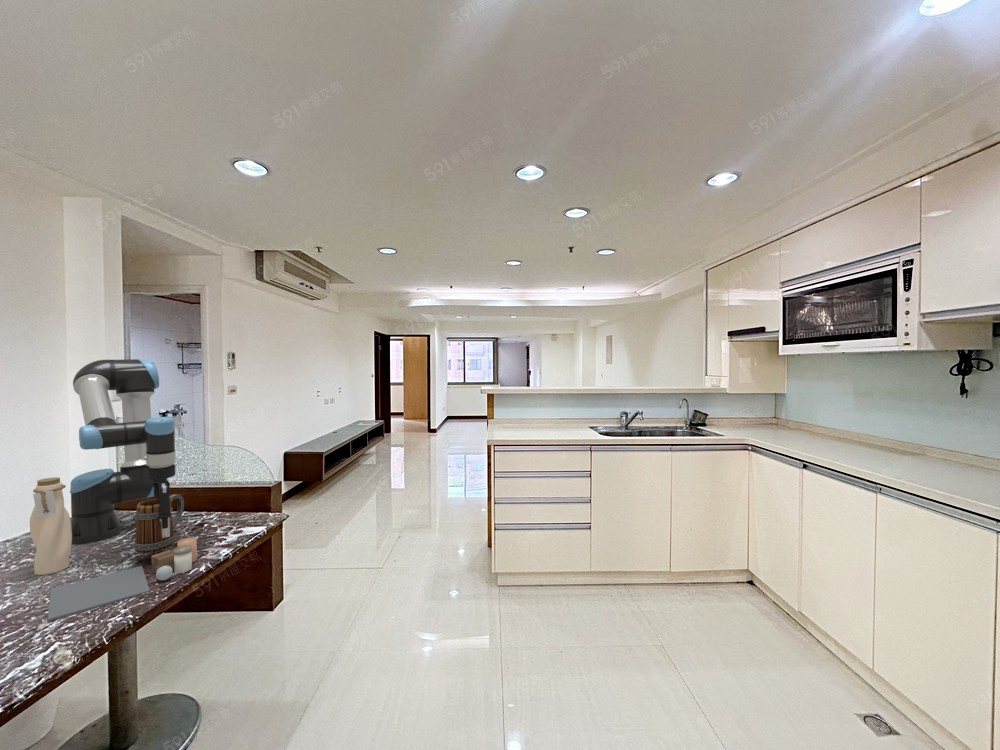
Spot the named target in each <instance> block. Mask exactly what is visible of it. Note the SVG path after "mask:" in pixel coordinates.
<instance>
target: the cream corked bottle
mask: <svg viewBox="0 0 1000 750" xmlns="http://www.w3.org/2000/svg"><path fill="white" fill-rule="evenodd" d="M36 482H37V484H36V485H35V488H34V489H32V492H33V495H32V496H33V500H34V502H33V503H34V507H33V509H32V511H31V514H30V517H29V533H30V536H31V539H32V542H33V544H34V547H35V549H36V550H35V553H34V557H33V560H34V561H33V565H34V567H33V568H34V569H33V571H34V572H33V574H34V575H36V576H46V575H51V574H55V573H58V572H61V571H63V570H65V569H67V568H68V567H70V565H71V564H70V563H71V562H70V554H71V552H72V551H71V550H72V545H73V544H72V528H71V517H70V516H71V515H70V513H69V511H68V510H67V509H66V507H65V500H64V493H63V490H64V489H66V485H65V484H63V483H62V481H61V477H57V476H56V477H55V476H54V477H48V478H41V479H38V480H37V481H36Z"/></svg>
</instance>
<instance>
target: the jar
mask: <svg viewBox="0 0 1000 750" xmlns="http://www.w3.org/2000/svg"><path fill="white" fill-rule="evenodd" d="M172 551H173V554H174V571H173V572H175V573H183V572H187V571H189V570H191V569H192V570H193V564H192V546H191V545H183V546H179V547H175V548H173V549H172ZM192 570H191V571H192ZM189 572H190V571H189ZM175 573H174V574H175ZM187 573H188V572H187ZM183 574H184V573H183Z"/></svg>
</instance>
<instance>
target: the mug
mask: <svg viewBox="0 0 1000 750" xmlns="http://www.w3.org/2000/svg"><path fill="white" fill-rule="evenodd" d="M169 497H170V514H171V516H170V537H164V538H163V537H162V528H161V522H160V520H159V519H158V520H157V517H159V516H160V512H159V507H160V505H159V503H158V498H155V500H154V498H149V499H144V500H142V501H141V502H138V504H137V505H136V511H135V519H136V521H135V522H136V523H135V536H134V537H135V540H134V545H133V547H134V551H135V552H136V553H138V554H143V555H145V554H153V553H154V554H155V553H160V552H161V551H162V552H163V551H164V550H167V549H169V548H171V547H172V546H173V545H174V544H175V543H176V536H178V535H179V533H180V529H177V528H176V526H177V524H178V523H179V522H180V520H181V519H182V515H183V513H184V507H185V500H184V497H183V496H182V495H181V494H175V493H174V494H171V495H169ZM174 499H176V500H177V509H176V513H175V516H174V518H173V516H172V512H173V510H174V508H173V507H172V502H173V500H174ZM166 514H167V513H166Z"/></svg>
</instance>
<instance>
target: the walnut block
mask: <svg viewBox="0 0 1000 750" xmlns="http://www.w3.org/2000/svg"><path fill="white" fill-rule="evenodd" d="M150 557H151V572H152V573H153V572H154V574H155V573H156V572H157V570H158V569H159V568H160V567H162V566H170V567H171V568H172V570H174V554H173V549H172V550H171V549H169V550H166V551H162V552H158V553H156V554H153V555H151V556H150Z"/></svg>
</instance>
